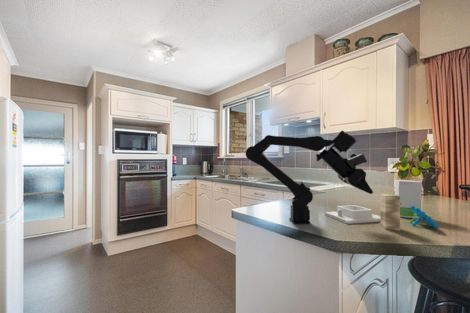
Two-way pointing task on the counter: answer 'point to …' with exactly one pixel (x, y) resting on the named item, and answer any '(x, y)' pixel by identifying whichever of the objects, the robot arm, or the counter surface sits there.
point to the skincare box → (408, 196)
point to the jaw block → (390, 211)
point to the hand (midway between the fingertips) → (367, 191)
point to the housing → (353, 214)
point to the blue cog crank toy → (421, 217)
